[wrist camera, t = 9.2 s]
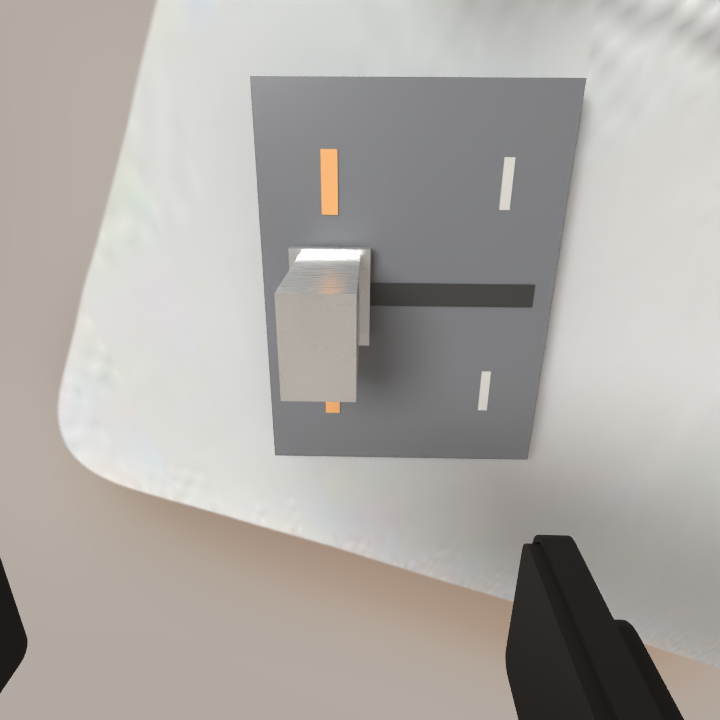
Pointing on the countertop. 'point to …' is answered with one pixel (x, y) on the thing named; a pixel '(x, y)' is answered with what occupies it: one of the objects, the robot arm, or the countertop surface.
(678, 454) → the countertop surface
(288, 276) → the slide lever
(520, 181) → the panel
